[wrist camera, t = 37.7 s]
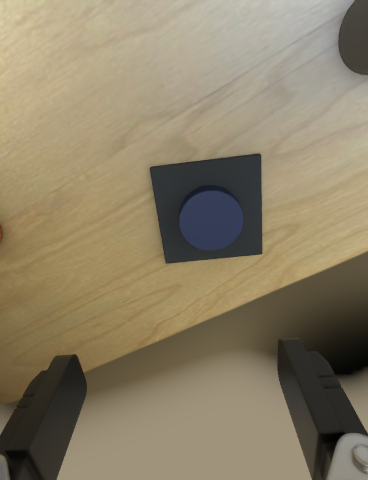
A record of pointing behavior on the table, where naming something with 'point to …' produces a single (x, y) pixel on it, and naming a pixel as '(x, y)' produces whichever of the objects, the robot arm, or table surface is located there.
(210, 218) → the jar lid
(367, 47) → the bottle
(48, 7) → the table surface
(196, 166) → the coaster
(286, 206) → the table surface
